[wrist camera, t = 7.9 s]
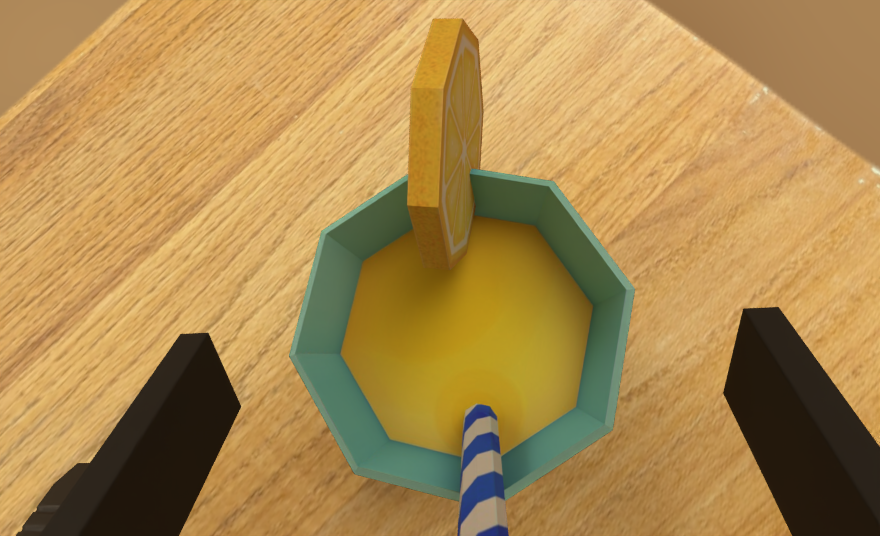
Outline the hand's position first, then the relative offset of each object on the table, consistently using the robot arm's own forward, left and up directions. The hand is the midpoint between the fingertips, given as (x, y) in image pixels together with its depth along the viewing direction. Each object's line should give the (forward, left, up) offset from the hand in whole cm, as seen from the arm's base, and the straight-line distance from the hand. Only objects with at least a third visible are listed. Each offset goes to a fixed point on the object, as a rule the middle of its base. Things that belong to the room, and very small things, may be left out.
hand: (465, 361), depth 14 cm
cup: (0, 0, -9) cm, 9 cm away
